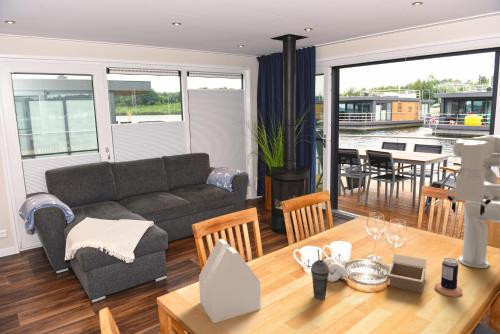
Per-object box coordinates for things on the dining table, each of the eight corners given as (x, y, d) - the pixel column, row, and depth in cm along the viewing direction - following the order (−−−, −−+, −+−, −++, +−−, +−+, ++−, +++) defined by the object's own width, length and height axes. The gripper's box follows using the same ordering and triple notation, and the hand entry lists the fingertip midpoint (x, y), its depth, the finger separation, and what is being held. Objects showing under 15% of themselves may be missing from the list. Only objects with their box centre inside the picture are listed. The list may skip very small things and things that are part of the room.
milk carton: (213, 323, 129) (210, 258, 125) (200, 302, 143) (197, 243, 138) (260, 309, 137) (259, 247, 133) (244, 291, 151) (242, 234, 146)
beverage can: (458, 291, 144) (460, 263, 142) (443, 290, 145) (445, 263, 143) (453, 285, 149) (455, 257, 147) (438, 284, 150) (440, 257, 148)
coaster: (435, 282, 154) (435, 280, 154) (462, 287, 149) (462, 285, 149) (433, 293, 145) (434, 290, 145) (462, 299, 140) (462, 296, 140)
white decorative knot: (356, 280, 157) (357, 261, 156) (336, 288, 151) (337, 268, 149) (337, 271, 167) (338, 252, 165) (318, 277, 160) (318, 259, 159)
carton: (393, 267, 168) (394, 254, 167) (425, 273, 161) (426, 259, 160) (385, 290, 148) (385, 274, 147) (421, 298, 142) (422, 282, 140)
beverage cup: (318, 303, 139) (318, 255, 136) (306, 295, 146) (307, 249, 142) (332, 298, 143) (333, 251, 139) (321, 290, 149) (321, 245, 146)
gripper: (446, 173, 148) (443, 212, 151) (496, 176, 139) (493, 218, 142) (446, 170, 154) (444, 208, 157) (495, 172, 146) (491, 213, 149)
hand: (467, 213), depth 150 cm, fingers open, 9 cm apart
